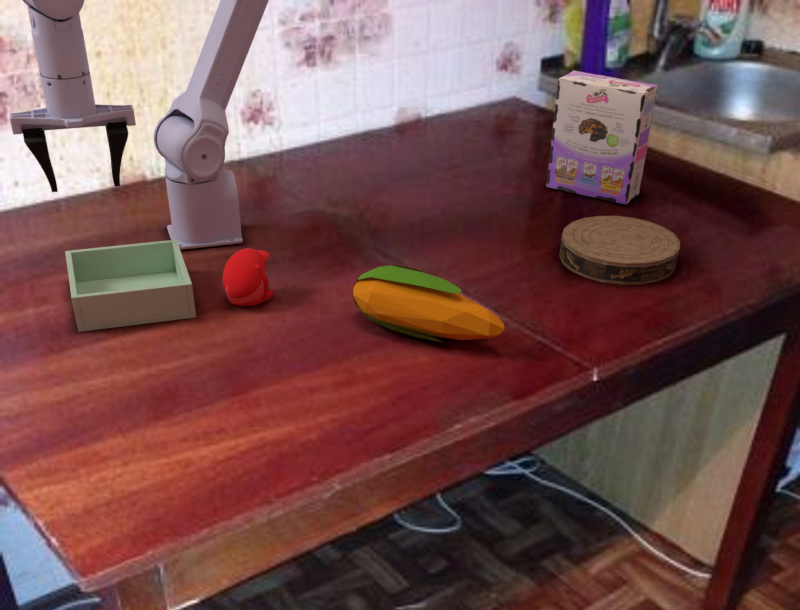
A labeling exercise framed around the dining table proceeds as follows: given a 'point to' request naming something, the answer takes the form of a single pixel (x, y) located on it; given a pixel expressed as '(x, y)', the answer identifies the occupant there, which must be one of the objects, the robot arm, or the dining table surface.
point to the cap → (247, 278)
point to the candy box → (600, 136)
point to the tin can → (619, 250)
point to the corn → (422, 305)
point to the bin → (129, 285)
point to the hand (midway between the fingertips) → (85, 186)
